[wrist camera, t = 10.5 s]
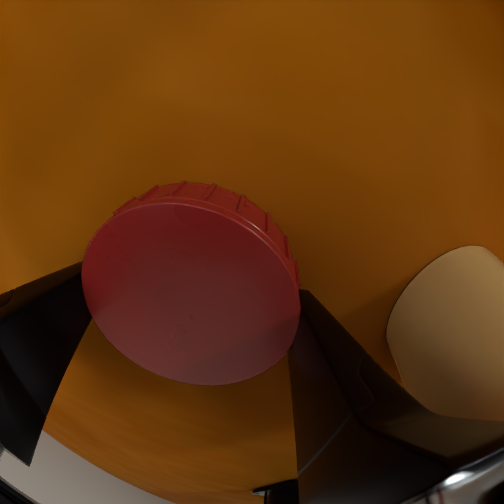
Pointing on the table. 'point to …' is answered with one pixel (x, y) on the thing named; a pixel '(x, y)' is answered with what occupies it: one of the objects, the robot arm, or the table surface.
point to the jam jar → (453, 335)
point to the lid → (193, 284)
